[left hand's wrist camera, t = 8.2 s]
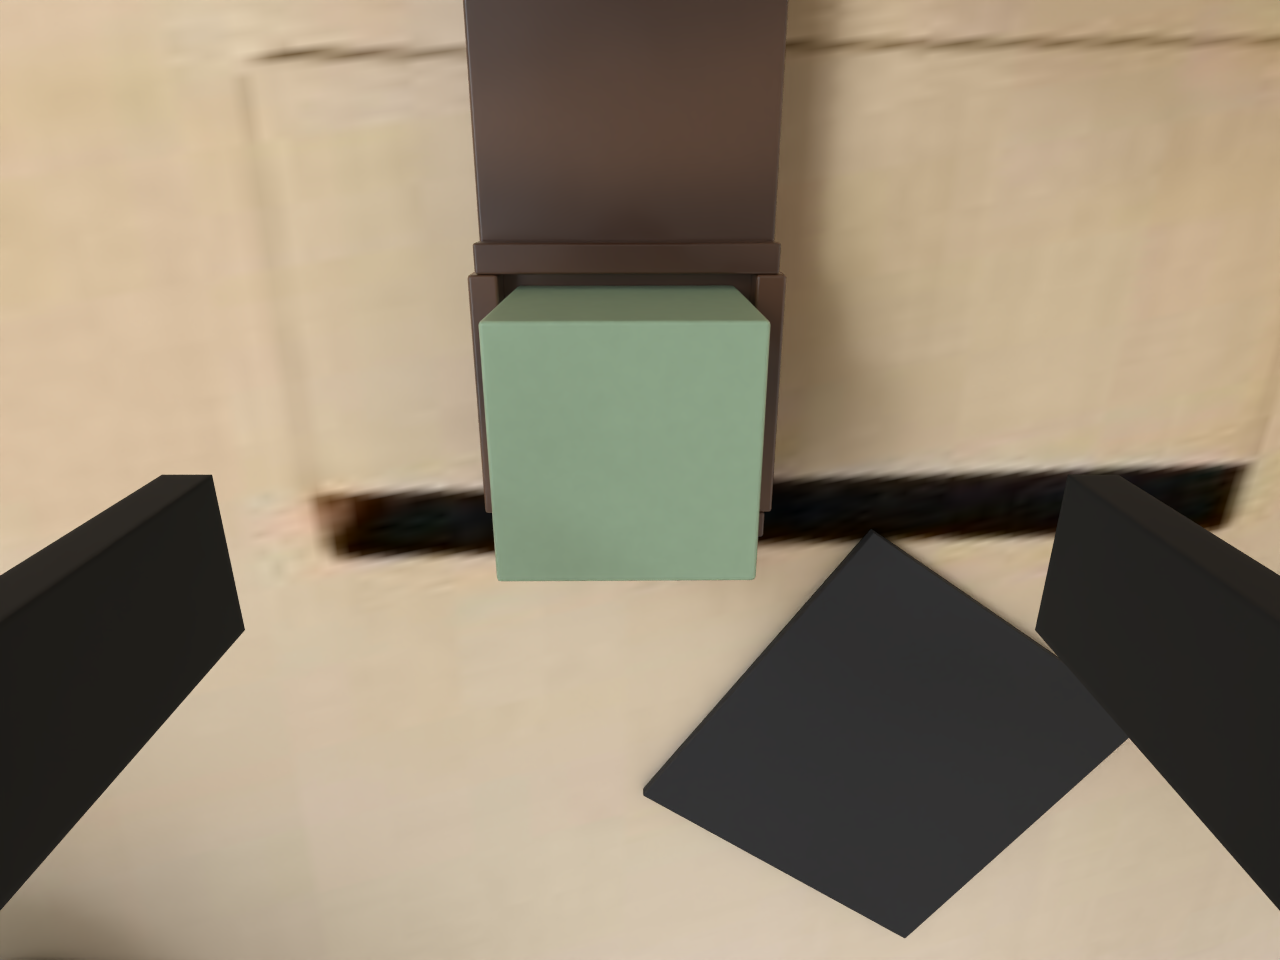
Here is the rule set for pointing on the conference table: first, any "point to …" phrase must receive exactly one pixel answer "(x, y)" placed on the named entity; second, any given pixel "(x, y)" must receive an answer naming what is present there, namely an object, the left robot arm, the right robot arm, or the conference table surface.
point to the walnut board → (628, 156)
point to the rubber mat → (888, 741)
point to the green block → (625, 432)
